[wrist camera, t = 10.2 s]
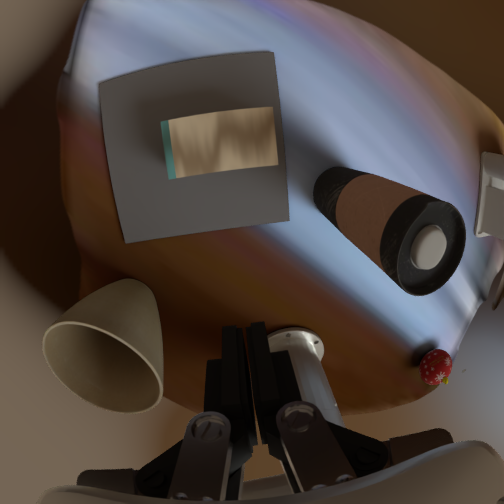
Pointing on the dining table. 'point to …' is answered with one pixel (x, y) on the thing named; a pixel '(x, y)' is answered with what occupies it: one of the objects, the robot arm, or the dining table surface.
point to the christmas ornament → (435, 367)
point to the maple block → (219, 142)
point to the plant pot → (110, 348)
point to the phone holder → (491, 197)
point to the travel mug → (394, 226)
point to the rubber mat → (153, 156)
